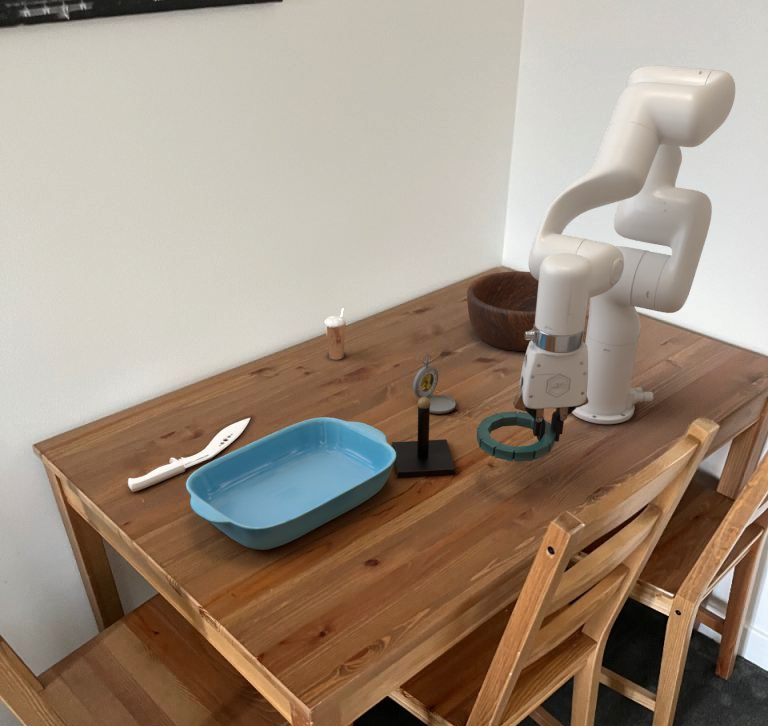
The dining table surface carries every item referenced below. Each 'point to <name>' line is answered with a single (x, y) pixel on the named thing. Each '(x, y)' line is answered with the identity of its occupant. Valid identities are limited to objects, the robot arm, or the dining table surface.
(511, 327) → the wooden bowl
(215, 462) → the casserole dish
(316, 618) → the dining table surface
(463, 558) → the dining table surface
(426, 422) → the stand
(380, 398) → the dining table surface
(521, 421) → the ring
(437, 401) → the pocket watch
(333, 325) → the milkshake
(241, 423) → the knife
